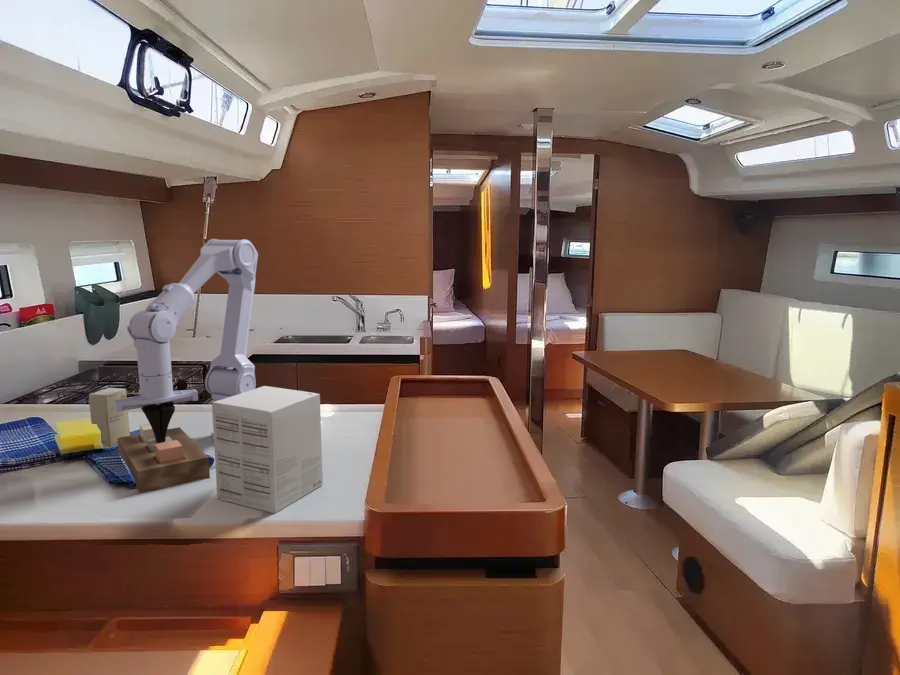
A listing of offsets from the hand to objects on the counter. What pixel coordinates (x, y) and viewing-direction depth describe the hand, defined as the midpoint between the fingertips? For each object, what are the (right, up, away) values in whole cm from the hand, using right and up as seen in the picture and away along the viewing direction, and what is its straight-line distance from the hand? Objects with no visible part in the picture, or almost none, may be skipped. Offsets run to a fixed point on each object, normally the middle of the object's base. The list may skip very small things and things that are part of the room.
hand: (160, 441), depth 119 cm
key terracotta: (+4, -3, -5) cm, 7 cm away
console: (0, -5, +1) cm, 5 cm away
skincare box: (-16, -3, +12) cm, 21 cm away
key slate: (0, -3, +1) cm, 3 cm away
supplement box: (+25, -8, -10) cm, 28 cm away
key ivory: (-4, -1, +6) cm, 7 cm away
